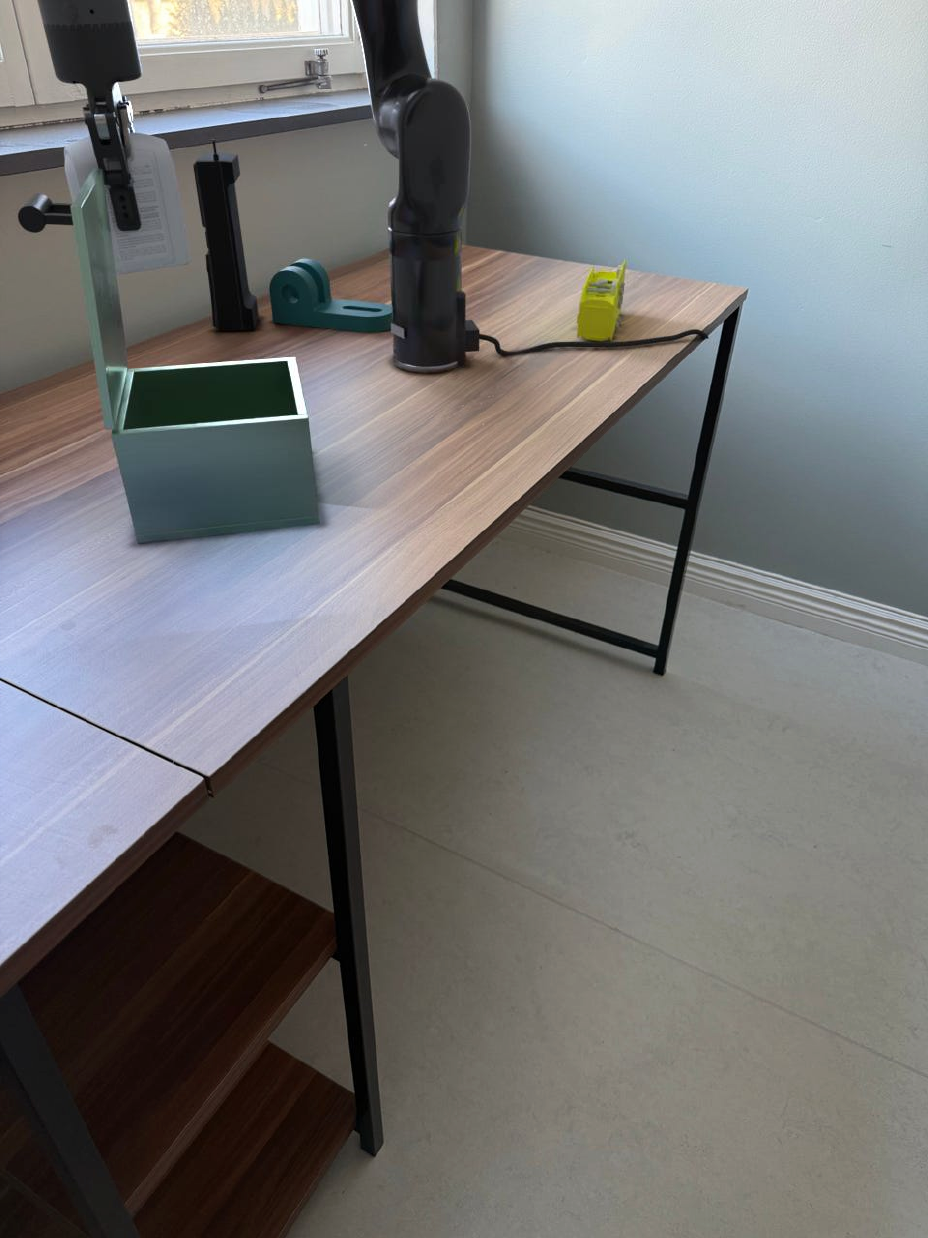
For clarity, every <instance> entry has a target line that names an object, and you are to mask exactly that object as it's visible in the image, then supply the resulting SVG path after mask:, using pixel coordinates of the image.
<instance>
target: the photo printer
mask: <svg viewBox="0 0 928 1238" xmlns="http://www.w3.org/2000/svg"><path fill="white" fill-rule="evenodd" d="M130 134H131V140H132V145H133V151H134V160H133V161H131V163H130V166H131V171H132V177H134V181H135V183H134V191H135V196H136V200H137V205H138V210H139V214H140V219H141V224H142V225H141V228H140V229H139V230H136V231H121V230H119V229H118V227H117V223H116V219H115V214H114V210H113V206H112V202H111V197H110V193H109V189H107V188H106V185H105V192H106V200H107V208H108V215H109V223H110V230H111V238H112V245H113V253H114V261H115V268H116V276H120V275H127V274H132V273H133V274H134V273H139V272H145V271H153V270H159V269H165V268H172V267H180V266H187V265H190V263H191V261H192V259H191V253H190V248H189V242H188V237H187V231H186V225H185V220H184V213H183V208H182V203H181V198H180V197H181V196H180V192H179V185H178V180H177V175H176V169H175V164H174V160H173V157H172V154H171V151H170V148H169V145H168V143H167V141H166V140H165V139H164V138H160V137H157V136H154V135H152V134H147V133H142V132H135V131H134V132H130ZM123 148H124V147H123ZM63 157H64V174H65V177H66V181H67V185H68V189H69V193H70V198H71V201H72V203H73V202H74V200H75V198H76V197H77V195H78V193H79V192H80V190H81V188H82V186H83V185H84V183H85V181H86V180H87V178H88V176H89V175H90V173H91V171H92V170H93V169H98V165H97V161H96V158H95V156H94V152H93V147H92V142H91V138H90V135H89V136H86V137H83V138H81V139H78V140H76V141H73V142H72V143H70V144H68V145H66V146H65V147H63ZM108 167H109V170H121V165H120V162H116V161H110V162H109V163H108Z"/></svg>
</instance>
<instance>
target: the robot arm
mask: <svg viewBox="0 0 928 1238" xmlns="http://www.w3.org/2000/svg"><path fill="white" fill-rule="evenodd" d="M36 2H37V5H38V8H39V13H40V17H41V22H42V25H43V29H44V34H45V38H46V42H47V45H48V46H47V47H48V50H49V53H50V58H51V62H52V65H53V70H54V74H55V77H56V78H57V80H58V81H60V82H61V83H64V84H68V85H69V84H70V85H77V84H79V85H82V86H83V87H84V88H85V91H86V97H87V102H86V103H85V106H82V114H83V119H84V124H85V125H86V127H87V131H88V135H89V136H90V138H91V142H92V147H93V152H94V156H95V158H96V161H97V165H98V169H102V170H103V177H104V185H106V188H107V189H109V193H110V197H111V202H112V206H113V210H114V214H115V219H116V223H117V227H118V229H119V230H121V231H136V230H139V229H140V228H141V225H142V224H141V219H140V214H139V210H138V205H137V200H136V196H135V191H134V183H135V181H134V177H132V171H131V166H130V163H131V161H133V160H134V151H133V145H132V140H131V134H130V132H135V128H134V124H133V123H134V113H133V109H132V104H131V101H129V100H128V99H127V97H126V95H122V94H121V90H120V85H119V83H125V82H131V81H132V82H133V81H136V80H138V79H140V78H141V77H142V76H143V68H142V63H141V57H140V52H139V47H138V42H137V36H136V32H135V27H134V21H133V17H132V12H131V6H130V2H129V0H36ZM350 3H351V6H352V10H353V14H354V17H355V21H356V26H357V28H358V33H359V37H360V43H361V46H362V48H361V49H362V52H363V54H362V55H363V59H364V65H365V72H366V79H367V85H368V93H369V99H370V106H371V107H370V108H371V113H372V119H373V124H374V127H375V131H376V134H377V137H378V139H379V141H380V143H381V145H382V146H383V147H384V148H385V150H386V151H387V152H388V153H389V154H390V155H391V156H392V157H394V158H396V159H397V160H398V190H397V194H396V196H395V197H394V198H393V199H391V201H389V202H388V206H387V228H388V229H387V231H388V247H389V248H388V252H389V253H388V254H389V274H390V275H389V278H390V300H391V307H392V323H391V329H390V333H391V334H392V352H393V353H392V361H393V364H394V366H396V367H398V368H399V369H402V370H403V371H404V370H405V371H409V372H414V373H424V374H429V373H430V374H431V373H433V374H434V373H440V372H446V371H450V370H453V369H455V368H458V367H465V366H466V353H473V352H474V353H475V352H480V340H482V341H486V342H489V343H490V344H491V343H492V344H493V345H494V349H495V352H496V353H497V354H498V355H500V356H503V357H510V356H517V355H524V354H530V353H536V352H539V351H545V350H547V349H548V350H549V349H556V348H595V349H597V348H598V349H599V348H600V349H605V348H606V349H610V348H626V347H635V346H644V345H652V344H659V343H667V342H674V341H677V340H680V339H683V338H686V337H689V336H693V335H698V336H699V337H701V338H702V339H703V340H708V339H709V338H710V337H709V335H708V334H707V333H706V332H705V331H703V330H701V329H698V328H692V329H688V330H684V331H682V332H679V333H677V334H673V335H665V336H659V337H652V338H651V337H650V338H643V339H636V340H635V339H634V340H625V341H553V342H546V343H543V344H538V345H534V346H531V347H529V348H526V349H521V350H517V351H507V350H504V349H501V344H500V341H499V340H498V339H497V338H495V337H493V336H492V335H488V334H483V333H480V328H479V327H478V326H477V324H476V323H475V322H474V321H473V319H467V317H466V315H467V314H466V311H467V310H466V309H467V308H466V307H467V306H466V305H467V301H466V300H467V299H466V298H467V296H466V293H465V291H464V290H463V286H462V285H463V284H462V283H463V279H462V277H463V275H462V274H463V273H462V272H463V270H462V269H463V265H462V263H463V261H462V260H463V248H462V247H463V245H462V244H463V228H462V227H463V213H464V210H465V208H466V206H467V203H468V199H469V198H468V197H469V190H470V173H471V151H472V125H471V117H470V112H469V108H468V104H467V101H466V99H465V97H464V96H463V94H462V92H460V90H459V89H458V88H457V87H456V86H454V85H453V84H451V83H449V82H448V81H445V80H442V79H439V78H433V77H432V74H431V70H430V66H429V63H428V59H427V55H426V51H425V47H424V41H423V37H422V32H421V27H420V19H419V0H350ZM123 147H124V148H123ZM110 161H116V162H120V165H121V170H109V167H108V163H109V162H110Z"/></svg>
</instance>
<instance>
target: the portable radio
mask: <svg viewBox="0 0 928 1238" xmlns="http://www.w3.org/2000/svg"><path fill="white" fill-rule="evenodd" d="M210 141H211V142H212V148H213V152H203V153H202V154H201V155H200V156H199V157H198V159H196V160H195V162H194V163H193V173H194V180H195V186H196V193H197V199H198V205H199V211H200V212H199V213H200V220H201V226H202V227H203V228H204V237H205V242H206V249H207V252H206V254H205V256H204V257H205V265H206V266H205V267H206V273H207V278H208V279H207V280H208V287H209V296H210V305H211V317H212V318H211V319H212V326H213V328H216V331H217V332H239V331H241V332H243V331H251V330H256V327H257V325H258V320H259V317H260V316H259V308H258V299H257V296H256V295H254V294H252V293H251V291H250V285H249V280H248V273H247V266H246V259H245V249H244V242H243V237H242V236H243V235H242V228H241V221H240V214H239V206H238V201H237V193H236V192H237V191H236V185H235V183H236V182H237V180H238V179H239V177H240V176H241V170H240V162H239V154H237V153H233V152H232V153H231V152H218V151H217V146H216V141H217V139H214V138H213V139H212V138H211V139H210Z"/></svg>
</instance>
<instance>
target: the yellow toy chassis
mask: <svg viewBox="0 0 928 1238" xmlns="http://www.w3.org/2000/svg"><path fill="white" fill-rule="evenodd" d="M626 261H627V260H626V259H623V262H622V264H618V266H617V268H616V271H612V270H611V271H610V270H598V271H597V272H595V269H594V268H595V267H594V266H591V268H590V270H589V273H588V275H587V277H586V280H585V282H584V284H583V286H582V289H581V294H580V299H579V307H578V314H577V315H576V317H577V318H576V323H577V332H576V333H577V334H576V338H577V339H579V337H581V338H583V339H584V340H588V341H589V340H590V341H591V342H608V341H612V339H613V336H614V334H615V333H614V332H615V331H619V330H620V329H619V328H620V325H621V321H622V316H621V315H620V314H621V310H622V305H623V301H624V293H625V284H626V283H625V278H626V277H625V276H626V266H627V265H626Z"/></svg>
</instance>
